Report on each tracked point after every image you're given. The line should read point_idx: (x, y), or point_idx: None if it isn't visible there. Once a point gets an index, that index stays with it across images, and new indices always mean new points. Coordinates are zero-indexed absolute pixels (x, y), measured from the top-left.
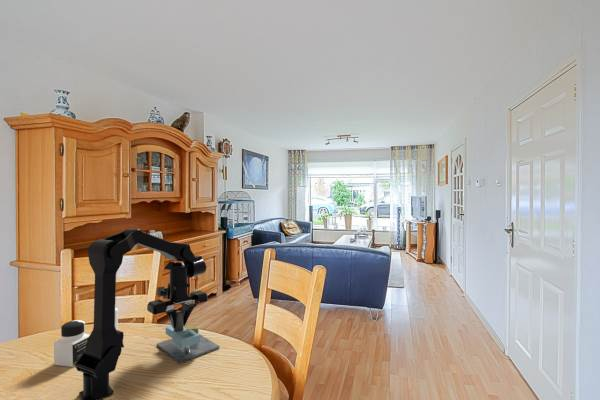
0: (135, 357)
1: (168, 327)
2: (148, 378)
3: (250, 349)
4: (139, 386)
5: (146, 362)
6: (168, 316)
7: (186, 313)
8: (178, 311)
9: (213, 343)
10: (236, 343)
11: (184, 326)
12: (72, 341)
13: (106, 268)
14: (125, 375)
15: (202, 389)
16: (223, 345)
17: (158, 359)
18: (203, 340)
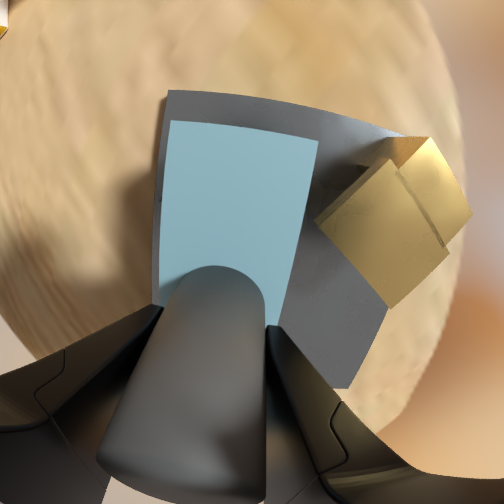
0: (54, 144)
1: (178, 165)
2: (57, 334)
3: (373, 431)
4: (39, 342)
5: (67, 233)
6: (34, 375)
7: (266, 498)
8: (188, 480)
9: (358, 359)
10: (401, 388)
11: (375, 173)
12: None
13: None
14: (12, 258)
15: None
16: (373, 373)
17: (107, 254)
18: (367, 301)
